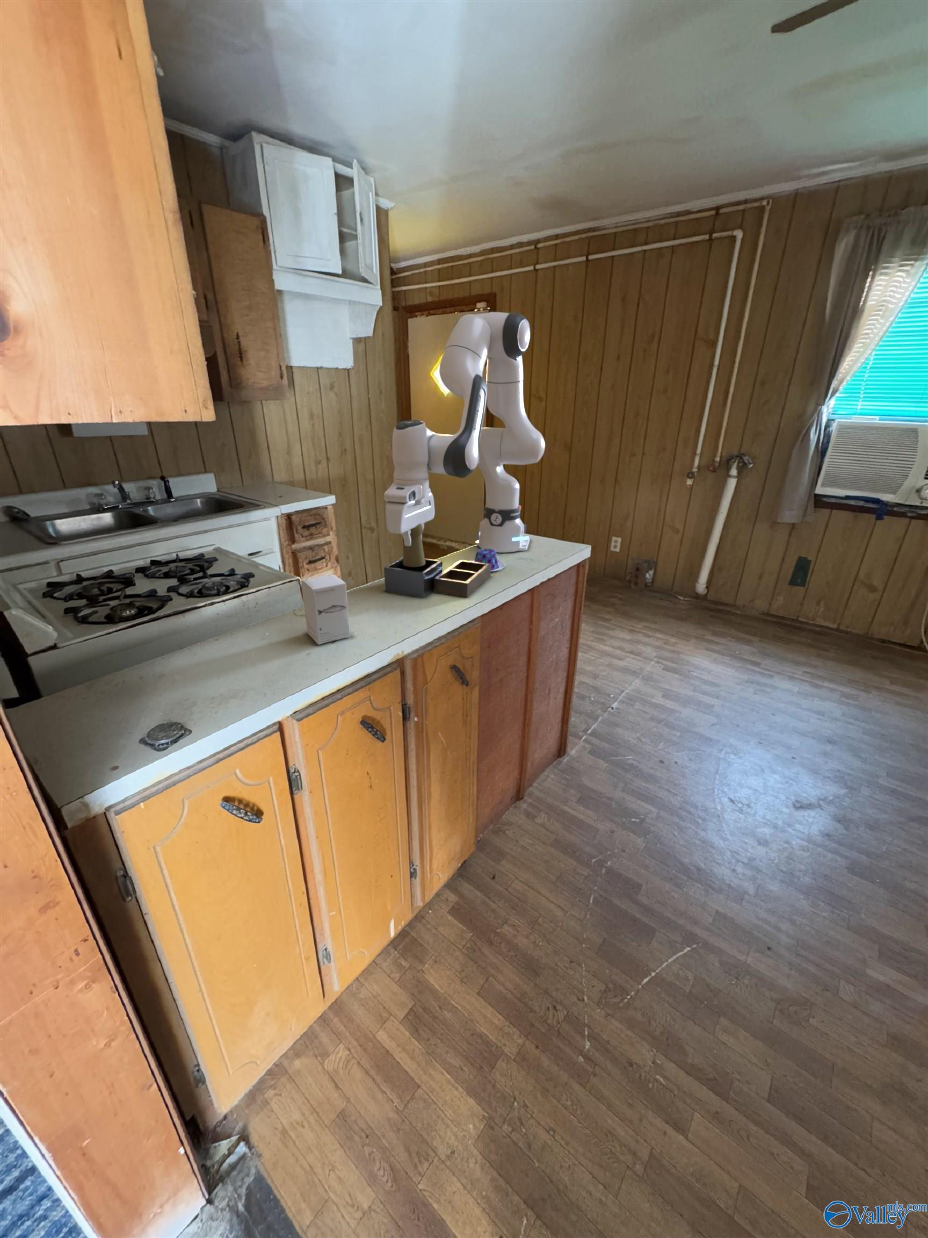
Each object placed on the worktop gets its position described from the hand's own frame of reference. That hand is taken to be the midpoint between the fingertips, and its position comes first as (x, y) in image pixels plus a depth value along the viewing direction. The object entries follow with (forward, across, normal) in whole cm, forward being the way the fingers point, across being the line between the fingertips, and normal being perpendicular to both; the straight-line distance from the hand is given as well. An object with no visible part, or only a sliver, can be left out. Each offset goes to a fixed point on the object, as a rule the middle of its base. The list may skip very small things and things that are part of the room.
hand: (413, 543), depth 132 cm
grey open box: (+13, 0, 0) cm, 13 cm away
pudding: (+13, -25, +12) cm, 30 cm away
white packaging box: (+13, +34, -3) cm, 36 cm away
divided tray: (+13, -8, +11) cm, 19 cm away
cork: (+6, 0, 0) cm, 6 cm away
